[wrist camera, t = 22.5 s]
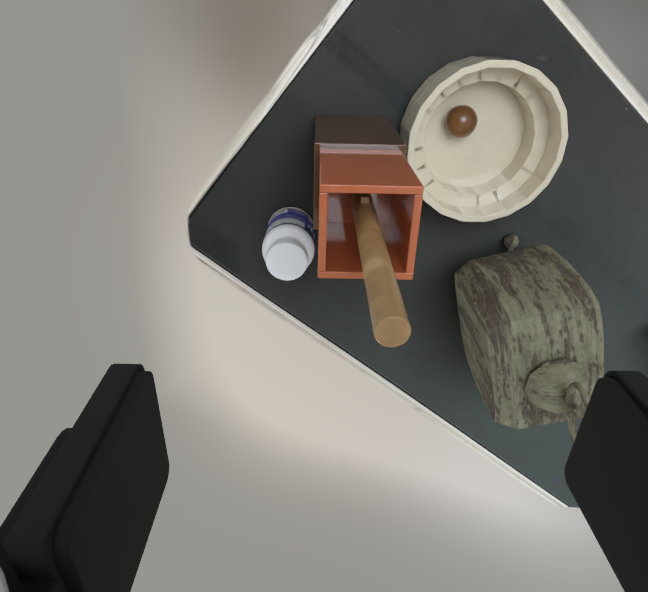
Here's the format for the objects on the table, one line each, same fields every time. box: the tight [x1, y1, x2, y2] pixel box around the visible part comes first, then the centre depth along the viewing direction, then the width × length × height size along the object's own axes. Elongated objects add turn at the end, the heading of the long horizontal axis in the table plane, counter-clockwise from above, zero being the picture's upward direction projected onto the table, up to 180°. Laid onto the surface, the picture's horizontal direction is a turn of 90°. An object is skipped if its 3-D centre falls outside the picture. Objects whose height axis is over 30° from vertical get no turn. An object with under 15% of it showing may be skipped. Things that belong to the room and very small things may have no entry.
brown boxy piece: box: [313, 115, 424, 280], centre depth 41 cm, size 7×7×23 cm
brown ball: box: [445, 105, 478, 138], centre depth 47 cm, size 3×3×3 cm
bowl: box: [400, 56, 568, 222], centre depth 47 cm, size 14×14×6 cm
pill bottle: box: [262, 207, 315, 280], centre depth 51 cm, size 5×5×9 cm
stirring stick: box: [349, 193, 411, 347], centre depth 30 cm, size 2×2×20 cm
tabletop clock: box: [455, 234, 604, 443], centre depth 47 cm, size 14×9×25 cm, turn 14°
